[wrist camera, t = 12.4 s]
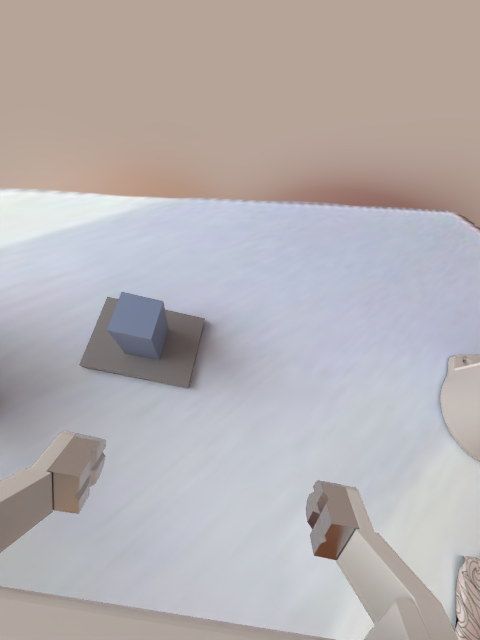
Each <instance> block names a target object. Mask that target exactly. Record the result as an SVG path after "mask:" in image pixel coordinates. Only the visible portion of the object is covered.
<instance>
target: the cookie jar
mask: <svg viewBox="0 0 480 640" xmlns="http://www.w3.org/2000/svg"><path fill="white" fill-rule="evenodd" d="M463 557H464V556H463ZM464 558H465V562H464V564H463V565H462V566H461V568H460V569H459V574H458V578H457V586H456V618H457V621H456V626H455V633H456V635H457V637H458V639H459V640H480V560H478V559H476V558H472V557H464Z"/></svg>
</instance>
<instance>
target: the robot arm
mask: <svg viewBox="0 0 480 640" xmlns="http://www.w3.org/2000/svg"><path fill="white" fill-rule="evenodd" d="M463 362H464V363H463ZM441 409H442V413H443V417H444V420H445V422H446V425H447V427H448V429H449V431H450V432H451V434H452V436H453V437H454V439H455V440H456V441H457V443H458V444H459V445H460V446H461V447H462V448H463V449H464V450H465V451H466V452H467V453H468V454H469V455H471V456H472V457H473V458H475V459H477V460H478V461H480V354H474V355H455V356H451V357H450V358H449V360H448V374H447V377H446V379H445V381H444V383H443V386H442V390H441ZM105 447H106V440H105V439H101V438H96V437H92V436H87V435H83V434H78V433H73V432H68V431H63V432H61V433H60V434H59V435H58V436H57V437H56V438H55V440H54V441H53V442H52V443H51V444H50V446H49V447H48V448H47V449H46V450H45V452H44V453H43V454H42V455H41V456H40V458H39V459H38V460H37V461H36V462H35V464H34V465H33V466H32V467H31V469H30V468H25V469H23V470H21V471H19V472H17V473H15V474H13V475H11V476H9V477H8V478H6V479H4V480H2V481H0V553H1V552H2V551H3V550H4V549H6V548H7V547H8V546H9V545H11V544H12V543H13V542H15V541H16V540H17V539H18V538H20V537H21V536H22V535H24V534H25V533H26V532H27V531H29V530H30V529H31V528H33V527H34V526H35V525H36V524H38V523H39V522H40V521H42V520H43V519H44V518H45V517H47V516H48V515H49V514H51V513H52V512H53V510H56V511H63V512H70V513H77V514H79V513H80V511H81V509H82V507H83V505H84V504H85V502H86V500H87V498H88V496H89V491H90V487H91V486H92V485H94V484H95V483H96V482H97V480H98V478H99V476H100V474H101V471H102V469H103V465H104V461H105V455H104V453H103V450H104V449H105ZM313 488H314V492H313V493H311V494H309V497H308V499H307V504H306V516H307V522H308V523H309V525H310V526H311V528H312V529H313V530H312V532H311V534H310V538H311V544H312V549H313V554H314V556H319V557H323V558H328V559H333V560H337V561H336V562H337V564H338V565H339V567H340V569H341V570H342V572H343V573H344V575H345V577H346V578H347V580H348V582H349V583H350V585H351V586H352V588H353V590H354V591H355V593H356V595H357V596H358V598H359V600H360V601H361V603H362V604H363V606H364V608H365V609H366V611H367V613H368V614H369V616H370V617H371V619H372V621H373V622H374V624H375V625H374V627H373V628H372V629H371V630H370V631H369V633H368V634H367V635H366V637H365V639H364V640H459V639H458V637H457V635H456V633H455V631H454V629H453V627H452V625H451V623H450V621H449V618H448V616H447V614H446V612H445V610H444V608H443V606H442V604H441V603H440V602H439V600H438V599H437V598H436V597H435V596H434V595H433V594H432V593H431V592H430V590H429V589H428V588H427V587H426V586H425V585H424V584H423V583H422V581H421V580H420V579H419V578H418V577H417V576H416V575H415V574H414V572H413V571H412V570H411V569H410V568H409V567H408V566H407V565H406V564H405V562H404V561H403V560H402V559H401V558H400V557H399V556H398V555H397V553H396V552H395V551H394V550H393V549H392V548H391V547H390V546H389V545H388V543H387V542H386V541H385V540H384V539H383V538H382V537H381V536H380V534H379V533H376V532H374V530H373V527H372V525H371V522H370V520H369V517H368V515H367V512H366V509H365V507H364V504H363V502H362V499H361V497H360V494H359V492H358V490H357V489H356V487H350V486H345V485H341V484H336V483H330V482H324V481H319V480H318V481H316V482H315V484H314V486H313ZM0 640H334V639H328V638H322V637H316V636H309V635H303V634H297V633H291V632H284V631H278V630H272V629H266V628H259V627H253V626H247V625H241V624H235V623H228V622H222V621H216V620H210V619H203V618H197V617H191V616H184V615H178V614H172V613H166V612H159V611H153V610H147V609H141V608H134V607H128V606H122V605H115V604H109V603H103V602H97V601H90V600H84V599H78V598H72V597H65V596H59V595H53V594H46V593H40V592H34V591H28V590H21V589H15V588H9V587H2V586H0Z"/></svg>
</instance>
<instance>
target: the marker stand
mask: <svg viewBox="0 0 480 640" xmlns="http://www.w3.org/2000/svg"><path fill="white" fill-rule="evenodd" d="M118 300H119V299H115V298H110V297H107V299H106V302H105V304H104V307H103V309H102V312H101V314H100V316H99V319H98V321H97V324H96V326H95V329H94V331H93V333H92V336H91V338H90V341H89V343H88V346H87V348H86V350H85V353H84V355H83V358H82V360H81V363H80V366H82V367H86V368H91V369H96V370H101V371H106V372H111V373H116V374H120V375H125V376H130V377H135V378H140V379H145V380H150V381H155V382H160V383H165V384H170V385H175V386H180V387H185V388H188V386H189V382H190V378H191V374H192V370H193V366H194V362H195V358H196V354H197V349H198V345H199V341H200V337H201V333H202V329H203V325H204V320H205V319H204V318H199V317H195V316H191V315H186V314H182V313H177V312H173V311H168V310H165V313H166V318H167V324H168V332H167V336H166V339H165V342H164V346H163V349H162V352H161V356H160V359H159V360H156V359H151V358H146V357H141V356H136V355H132V354H127V353H124V352H123V350H122V349H121V348H120V346H119V345H118V344H117V343H116V341H115V340H114V339H113V337H112V336H111V335H110V333H109V332H108V331H107V328H108V326H109V323H110V321H111V318H112V316H113V313H114V310H115V308H116V305H117V303H118Z"/></svg>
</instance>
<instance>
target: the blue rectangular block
mask: <svg viewBox="0 0 480 640" xmlns="http://www.w3.org/2000/svg"><path fill="white" fill-rule="evenodd" d="M107 331H108V332H109V333H110V335H111V336H112V337H113V339H114V340H115V341H116V343H117V344H118V345H119V346H120V348H121V349H122V350H123V352H124V353H127V354H132V355H136V356H141V357H146V358H151V359H156V360H159V359H160V356H161V352H162V349H163V346H164V342H165V339H166V336H167V332H168V324H167V318H166V313H165V308H164V303H163V301H159V300H155V299H151V298H146V297H142V296H138V295H133V294H129V293H124V292H122V293H121V295H120V298H119V300H118V303H117V305H116V308H115V310H114V313H113V316H112V318H111V321H110V323H109V326H108V328H107Z"/></svg>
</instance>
